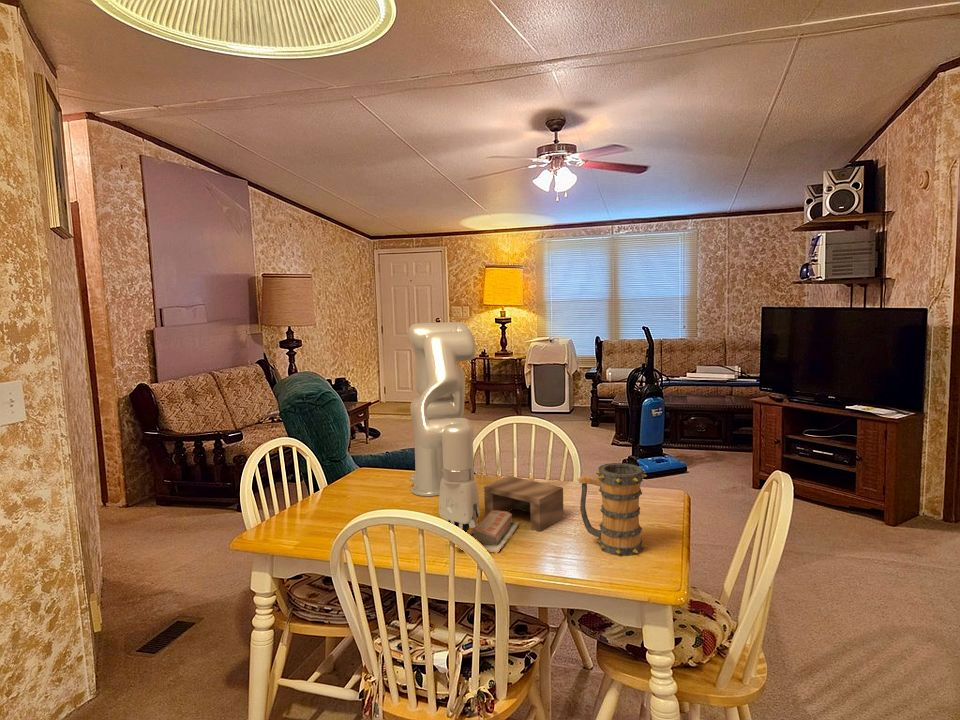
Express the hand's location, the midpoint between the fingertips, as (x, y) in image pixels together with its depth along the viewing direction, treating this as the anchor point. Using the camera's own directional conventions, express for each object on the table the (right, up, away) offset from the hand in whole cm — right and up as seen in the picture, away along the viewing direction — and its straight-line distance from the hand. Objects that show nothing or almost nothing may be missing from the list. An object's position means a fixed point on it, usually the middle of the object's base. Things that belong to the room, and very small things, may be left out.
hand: (461, 545), depth 146 cm
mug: (+38, -1, +1) cm, 38 cm away
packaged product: (+8, -1, +8) cm, 11 cm away
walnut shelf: (+17, +1, +21) cm, 28 cm away
